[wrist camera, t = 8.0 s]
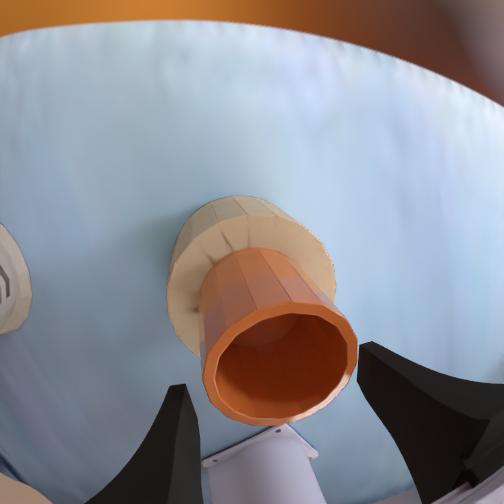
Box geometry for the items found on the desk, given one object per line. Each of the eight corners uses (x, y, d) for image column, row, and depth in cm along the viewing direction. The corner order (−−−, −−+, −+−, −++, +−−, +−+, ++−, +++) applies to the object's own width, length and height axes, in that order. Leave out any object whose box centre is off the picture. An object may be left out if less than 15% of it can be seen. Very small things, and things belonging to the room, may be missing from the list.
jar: (221, 336, 22) (231, 393, 17) (147, 245, 19) (130, 282, 14) (319, 272, 22) (359, 312, 16) (257, 169, 19) (285, 177, 14)
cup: (238, 363, 16) (258, 443, 11) (175, 289, 14) (168, 363, 9) (324, 308, 16) (376, 373, 11) (272, 224, 14) (318, 268, 9)
